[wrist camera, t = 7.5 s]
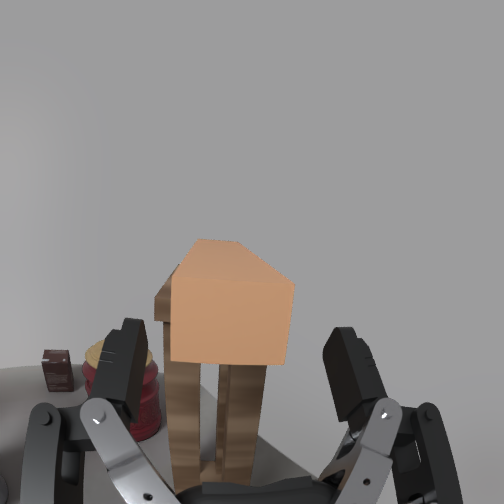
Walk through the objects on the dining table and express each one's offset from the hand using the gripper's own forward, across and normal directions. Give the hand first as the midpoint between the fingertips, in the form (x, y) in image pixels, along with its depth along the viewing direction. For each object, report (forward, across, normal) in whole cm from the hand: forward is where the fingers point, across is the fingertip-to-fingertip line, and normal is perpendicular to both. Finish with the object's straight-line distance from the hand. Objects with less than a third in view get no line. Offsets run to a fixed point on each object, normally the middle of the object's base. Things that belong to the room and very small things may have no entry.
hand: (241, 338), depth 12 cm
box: (+16, -32, -46) cm, 58 cm away
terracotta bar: (+7, -1, -4) cm, 8 cm away
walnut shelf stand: (-5, -1, -34) cm, 34 cm away
